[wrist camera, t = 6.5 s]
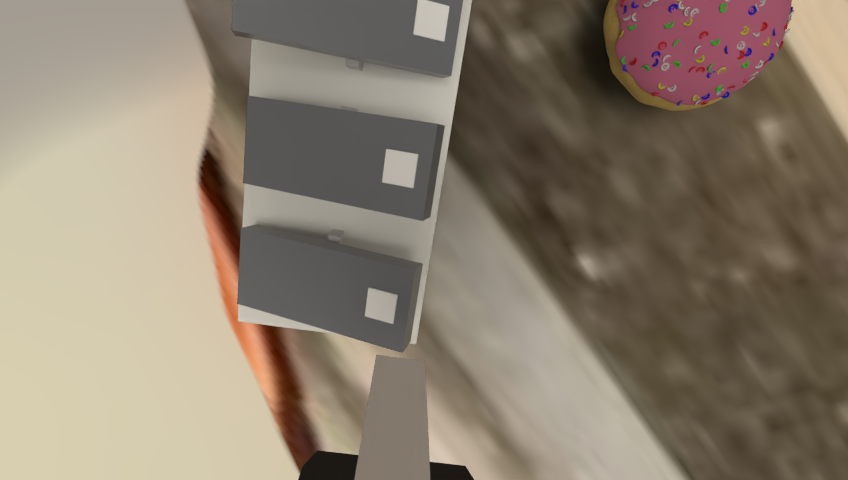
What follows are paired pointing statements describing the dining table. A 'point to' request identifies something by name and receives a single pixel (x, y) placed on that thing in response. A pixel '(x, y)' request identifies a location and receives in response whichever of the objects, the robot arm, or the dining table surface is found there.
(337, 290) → the rocker
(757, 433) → the dining table surface
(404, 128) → the block
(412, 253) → the switch unit
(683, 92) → the cupcake
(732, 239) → the dining table surface
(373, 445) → the robot arm
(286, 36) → the rocker
